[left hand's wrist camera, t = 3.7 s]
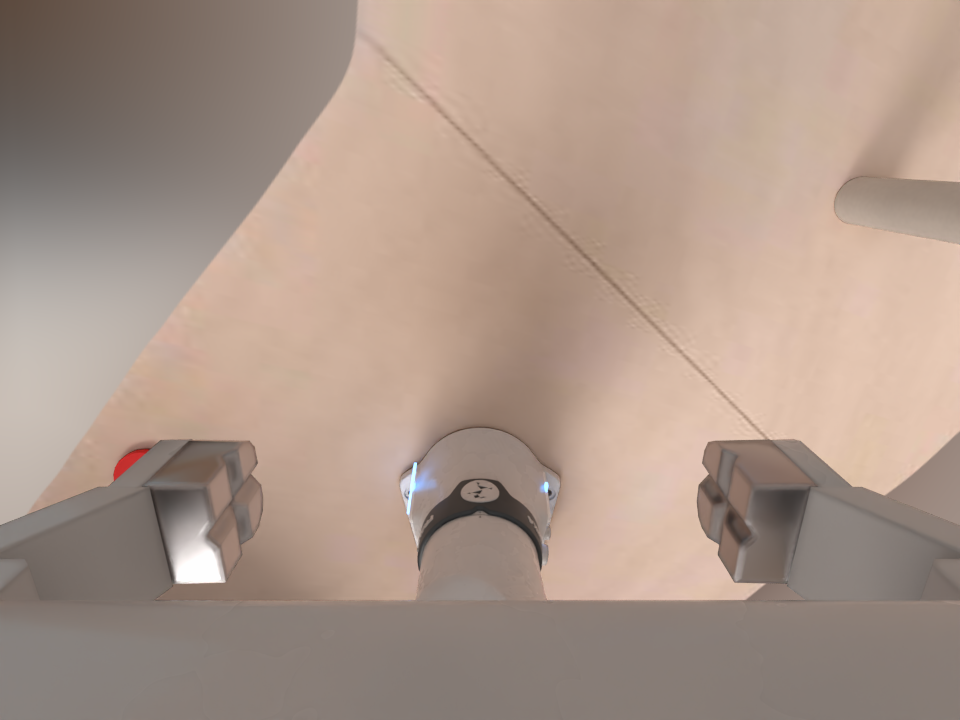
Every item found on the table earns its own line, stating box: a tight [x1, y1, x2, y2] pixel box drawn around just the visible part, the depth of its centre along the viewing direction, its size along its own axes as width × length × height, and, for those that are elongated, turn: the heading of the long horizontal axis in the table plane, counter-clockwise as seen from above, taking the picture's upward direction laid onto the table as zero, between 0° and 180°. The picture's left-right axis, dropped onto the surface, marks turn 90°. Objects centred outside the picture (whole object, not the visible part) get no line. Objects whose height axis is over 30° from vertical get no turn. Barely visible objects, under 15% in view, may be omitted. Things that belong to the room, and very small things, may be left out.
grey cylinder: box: [834, 177, 960, 244], centre depth 46 cm, size 4×4×18 cm
